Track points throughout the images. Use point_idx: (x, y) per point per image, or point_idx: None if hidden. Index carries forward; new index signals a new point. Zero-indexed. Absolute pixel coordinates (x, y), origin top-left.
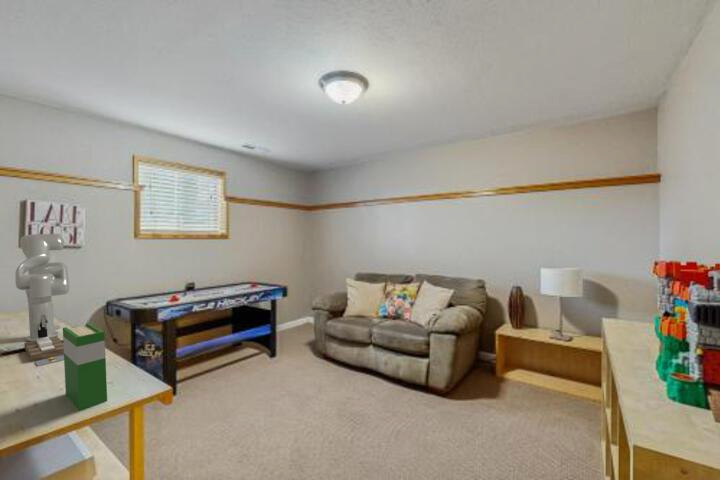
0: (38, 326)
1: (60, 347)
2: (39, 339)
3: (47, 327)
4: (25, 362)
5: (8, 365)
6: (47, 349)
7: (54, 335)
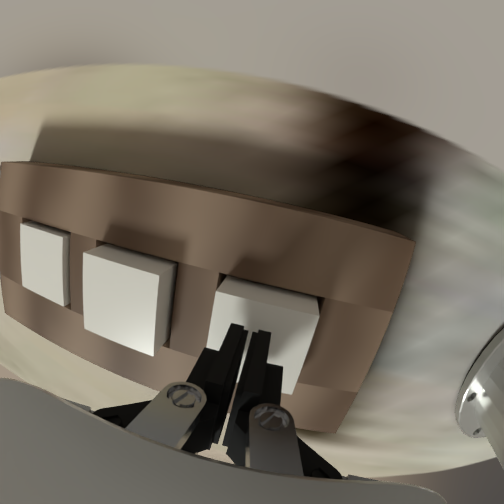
0: (250, 441)
1: (20, 303)
2: (267, 326)
3: (502, 438)
4: (45, 139)
5: (71, 73)
6: (23, 250)
7: (457, 422)
